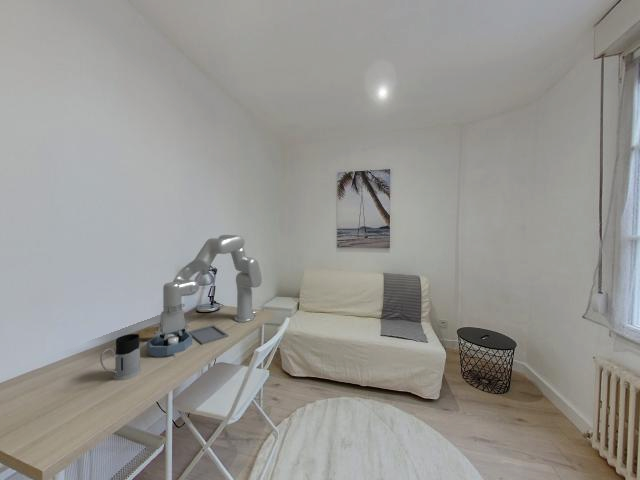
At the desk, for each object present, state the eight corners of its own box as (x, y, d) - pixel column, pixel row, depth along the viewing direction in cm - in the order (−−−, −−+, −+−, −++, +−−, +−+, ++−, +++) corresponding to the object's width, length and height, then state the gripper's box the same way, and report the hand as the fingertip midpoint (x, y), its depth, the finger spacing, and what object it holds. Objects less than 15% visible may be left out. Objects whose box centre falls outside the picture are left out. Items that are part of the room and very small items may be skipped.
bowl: (183, 337, 136) (183, 328, 136) (196, 348, 123) (196, 338, 123) (144, 347, 123) (144, 338, 123) (153, 361, 110) (153, 351, 110)
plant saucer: (152, 343, 128) (152, 338, 128) (128, 340, 130) (128, 336, 130) (174, 332, 142) (174, 327, 142) (152, 330, 145) (152, 325, 145)
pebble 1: (172, 340, 129) (172, 333, 129) (175, 344, 126) (175, 336, 126) (161, 343, 125) (161, 336, 125) (164, 347, 122) (164, 339, 122)
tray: (213, 327, 149) (213, 324, 149) (228, 337, 136) (228, 334, 136) (188, 334, 139) (188, 331, 139) (202, 346, 126) (202, 342, 126)
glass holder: (146, 369, 104) (146, 334, 103) (109, 390, 90) (109, 350, 90) (130, 366, 106) (130, 332, 106) (92, 386, 93) (92, 346, 92)
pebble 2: (176, 342, 124) (176, 334, 124) (179, 346, 121) (179, 338, 121) (165, 345, 121) (165, 337, 120) (168, 349, 117) (168, 341, 117)
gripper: (188, 303, 129) (188, 337, 129) (149, 310, 116) (150, 348, 117) (193, 306, 123) (193, 342, 124) (153, 314, 111) (154, 353, 112)
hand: (172, 344), depth 121 cm, fingers closed on pebble 2, 4 cm apart
